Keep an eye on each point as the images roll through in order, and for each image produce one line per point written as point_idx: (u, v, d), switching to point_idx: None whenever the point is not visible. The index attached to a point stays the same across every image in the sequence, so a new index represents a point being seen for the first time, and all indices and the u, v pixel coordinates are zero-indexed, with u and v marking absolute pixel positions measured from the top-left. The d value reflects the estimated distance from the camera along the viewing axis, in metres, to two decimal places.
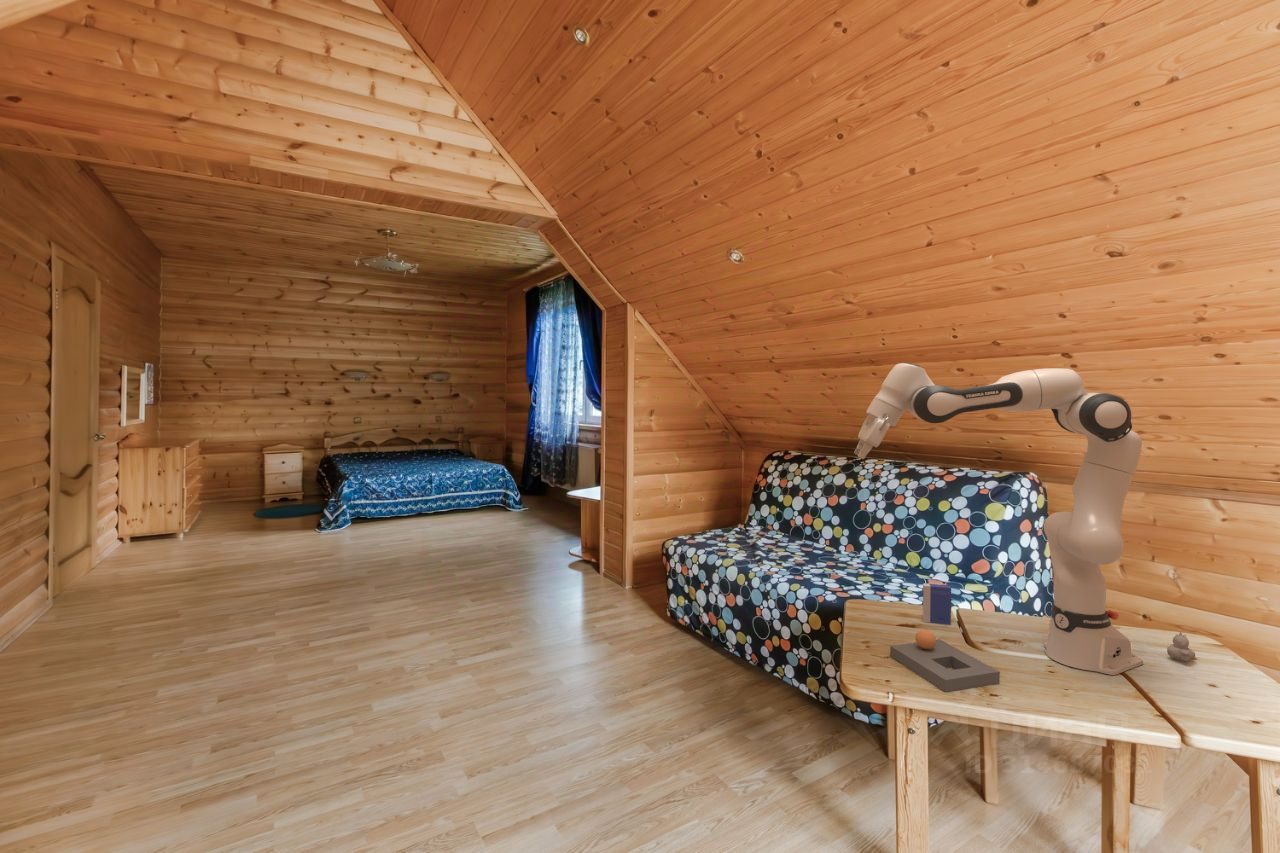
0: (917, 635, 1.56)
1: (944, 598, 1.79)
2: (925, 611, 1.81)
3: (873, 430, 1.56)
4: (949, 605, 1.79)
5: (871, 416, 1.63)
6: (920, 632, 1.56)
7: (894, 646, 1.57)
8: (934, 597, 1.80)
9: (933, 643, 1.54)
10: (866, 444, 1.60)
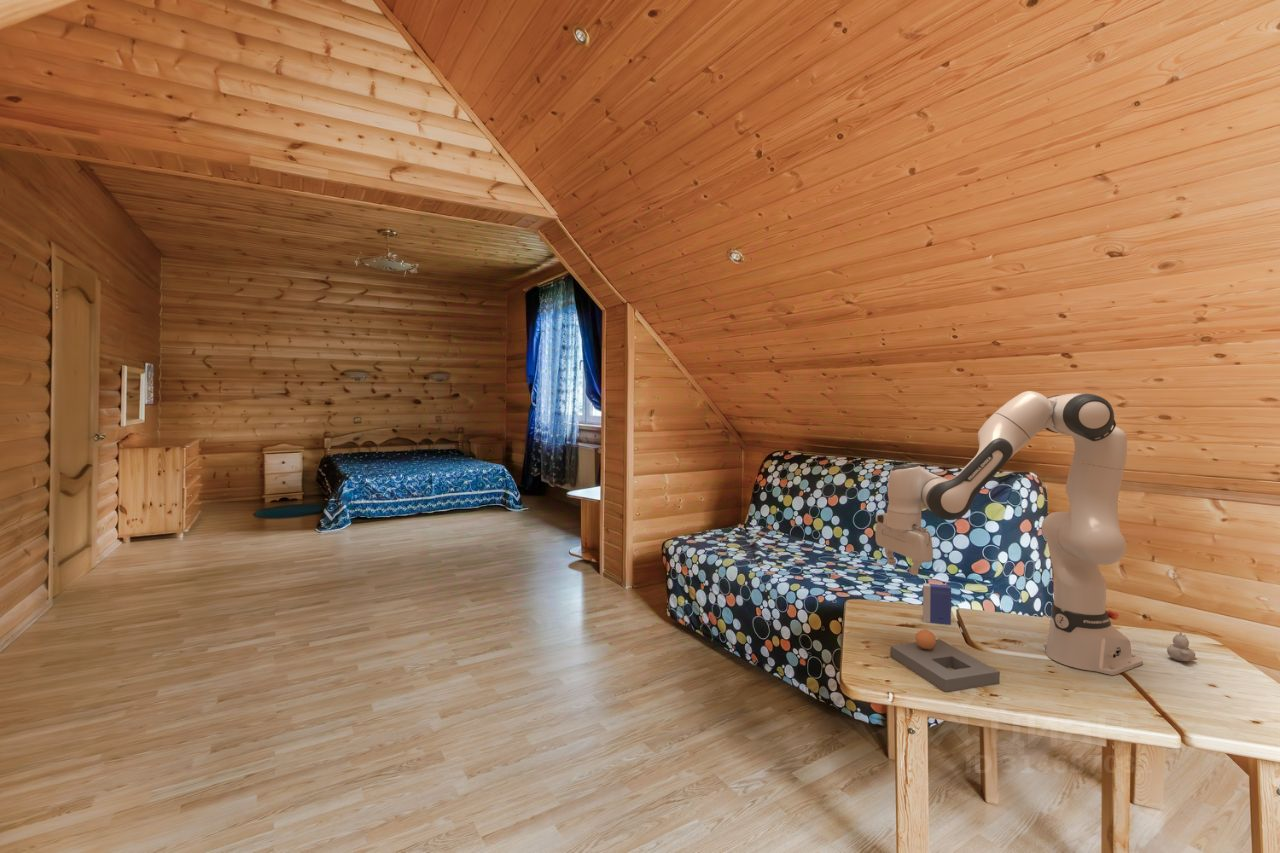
0: (917, 635, 1.56)
1: (944, 598, 1.79)
2: (925, 611, 1.81)
3: (922, 549, 1.53)
4: (949, 605, 1.79)
5: (899, 530, 1.60)
6: (920, 632, 1.56)
7: (894, 646, 1.57)
8: (934, 597, 1.80)
9: (933, 643, 1.54)
10: (916, 561, 1.56)
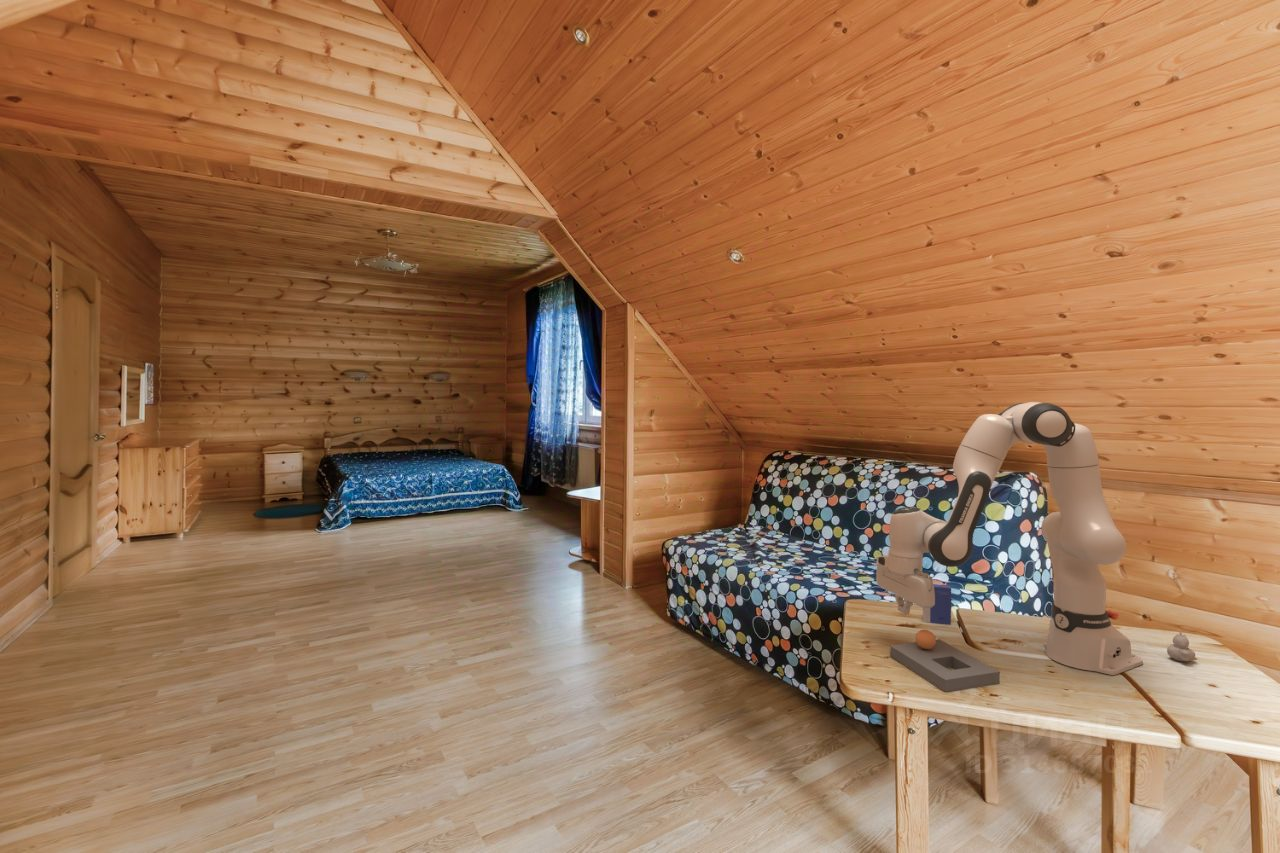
0: (917, 635, 1.56)
1: (944, 598, 1.79)
2: (925, 611, 1.81)
3: (925, 595, 1.53)
4: (949, 605, 1.79)
5: (900, 574, 1.61)
6: (920, 632, 1.56)
7: (894, 646, 1.57)
8: None
9: (933, 643, 1.54)
10: (908, 601, 1.61)
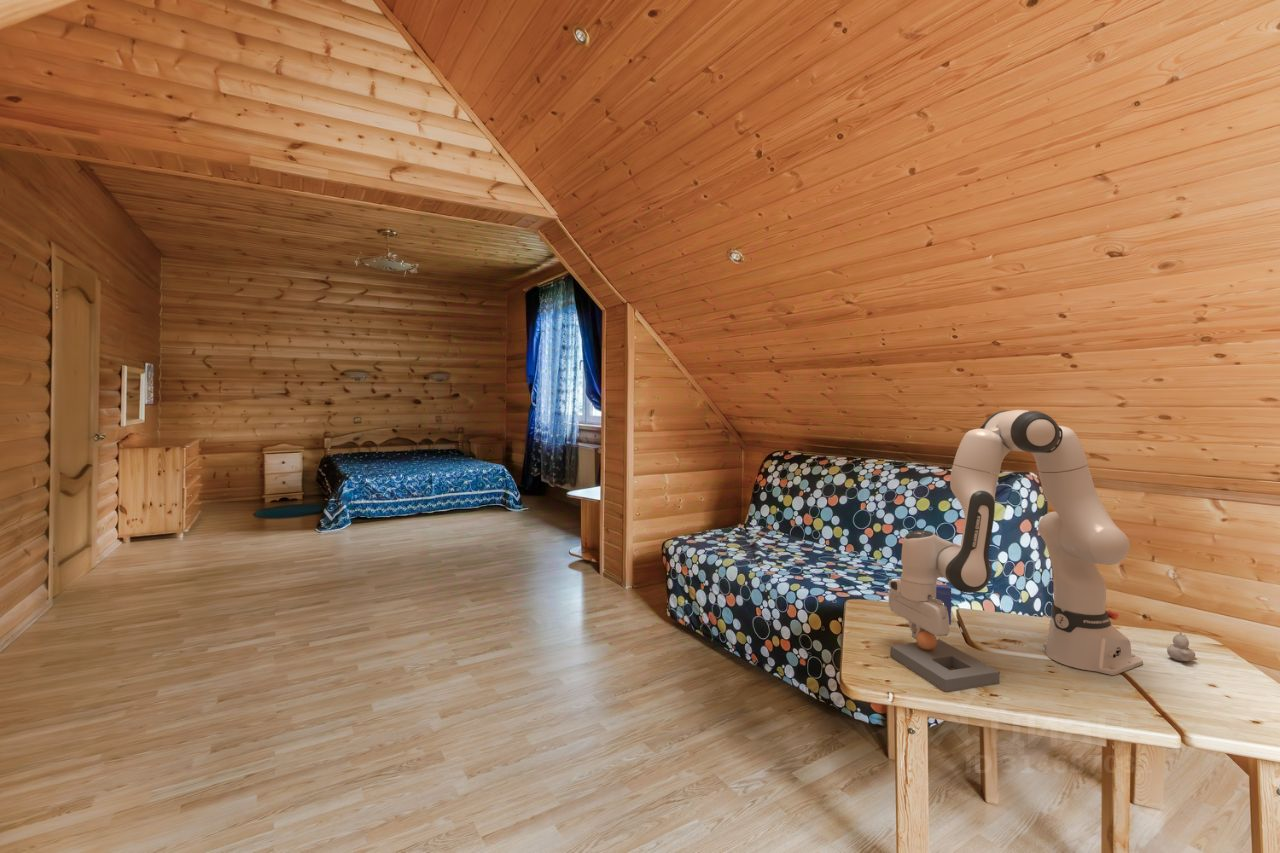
0: (918, 636, 1.55)
1: (944, 598, 1.79)
2: None
3: (939, 623, 1.49)
4: (949, 605, 1.79)
5: (913, 600, 1.56)
6: (922, 634, 1.55)
7: (894, 646, 1.57)
8: None
9: (934, 645, 1.53)
10: (920, 627, 1.56)
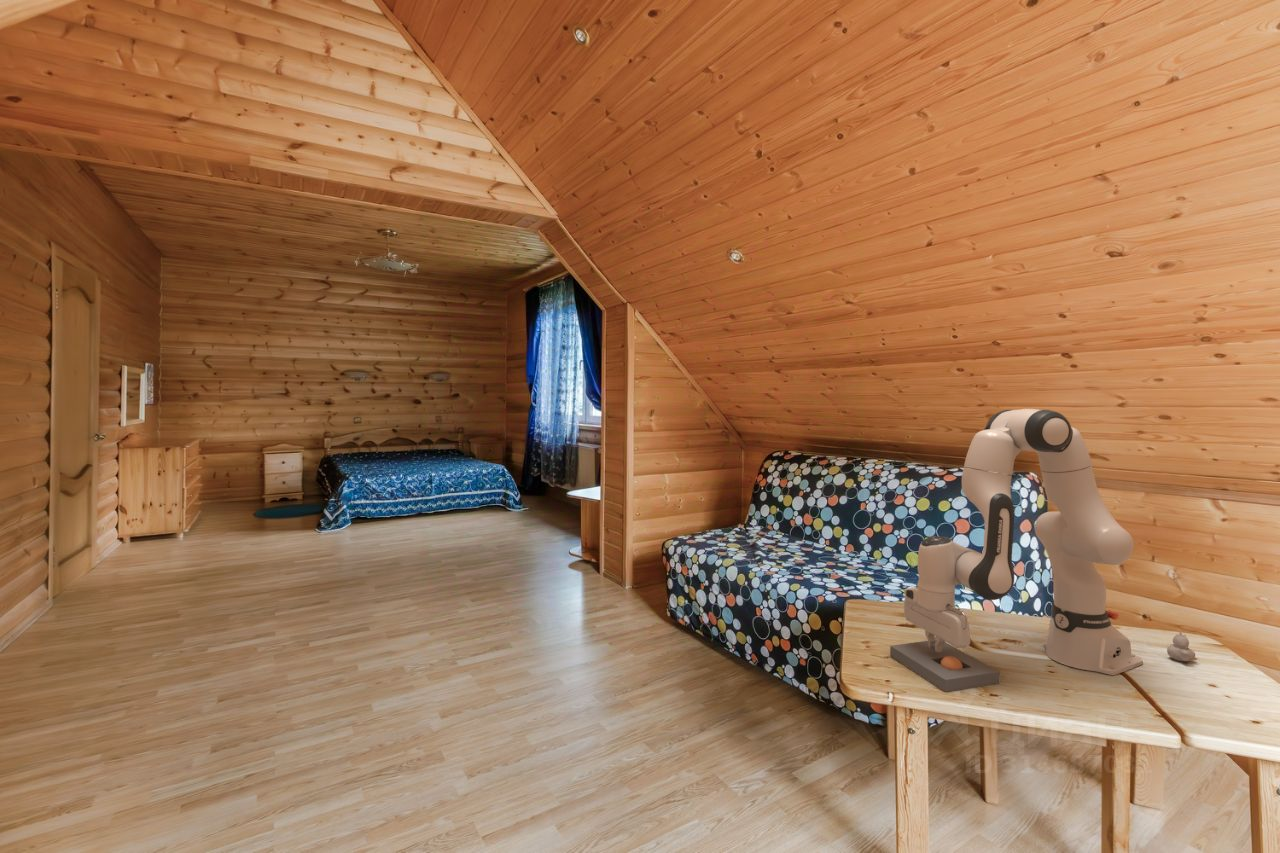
0: None
1: None
2: None
3: (959, 633, 1.42)
4: None
5: (931, 609, 1.50)
6: None
7: (894, 646, 1.57)
8: None
9: (951, 656, 1.47)
10: None
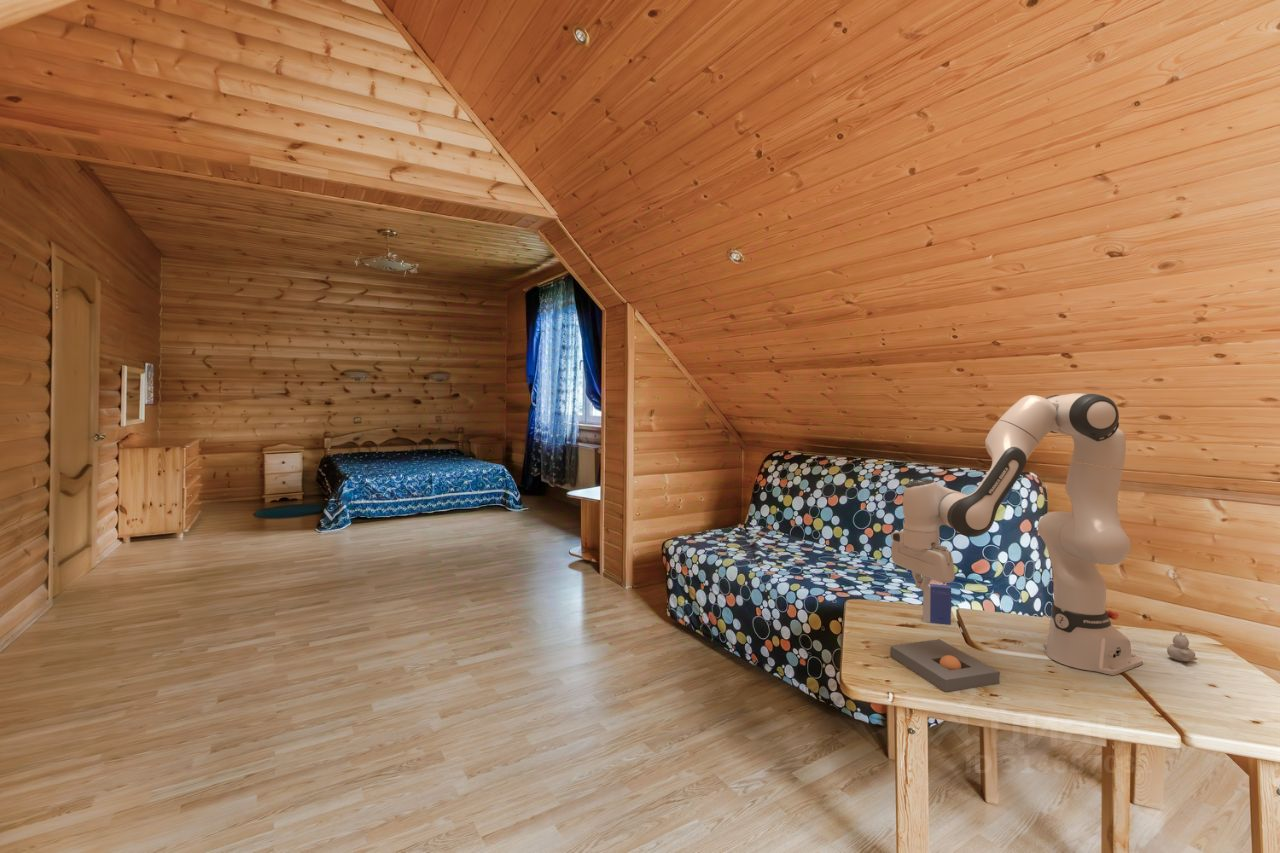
0: None
1: (944, 598, 1.79)
2: (925, 611, 1.81)
3: (944, 569, 1.47)
4: (949, 605, 1.79)
5: (917, 549, 1.54)
6: None
7: (894, 646, 1.57)
8: (934, 597, 1.80)
9: (949, 655, 1.48)
10: (926, 577, 1.54)
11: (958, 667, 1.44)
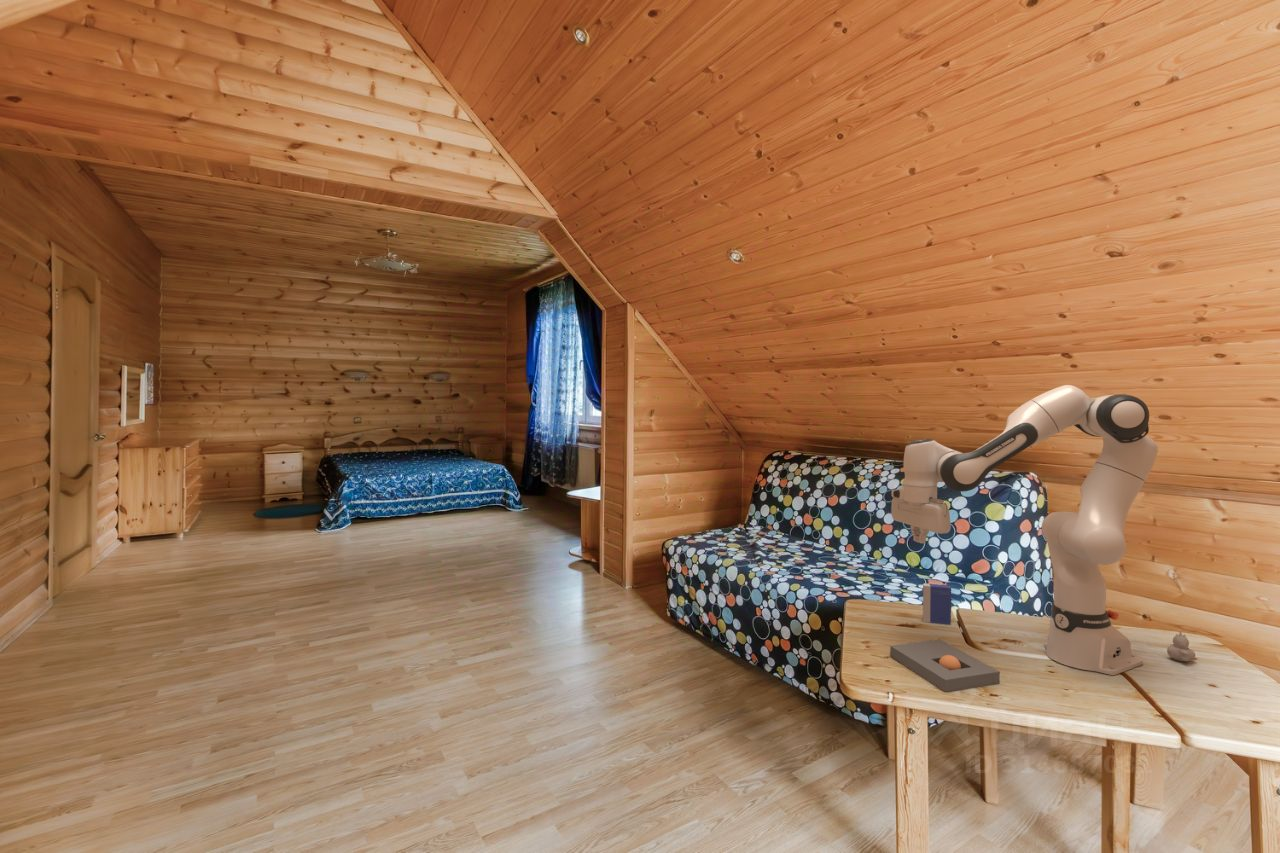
0: None
1: (944, 598, 1.79)
2: (925, 611, 1.81)
3: (940, 520, 1.57)
4: (949, 605, 1.79)
5: (916, 503, 1.64)
6: None
7: (894, 646, 1.57)
8: (934, 597, 1.80)
9: (948, 655, 1.48)
10: (923, 530, 1.64)
11: (957, 666, 1.45)
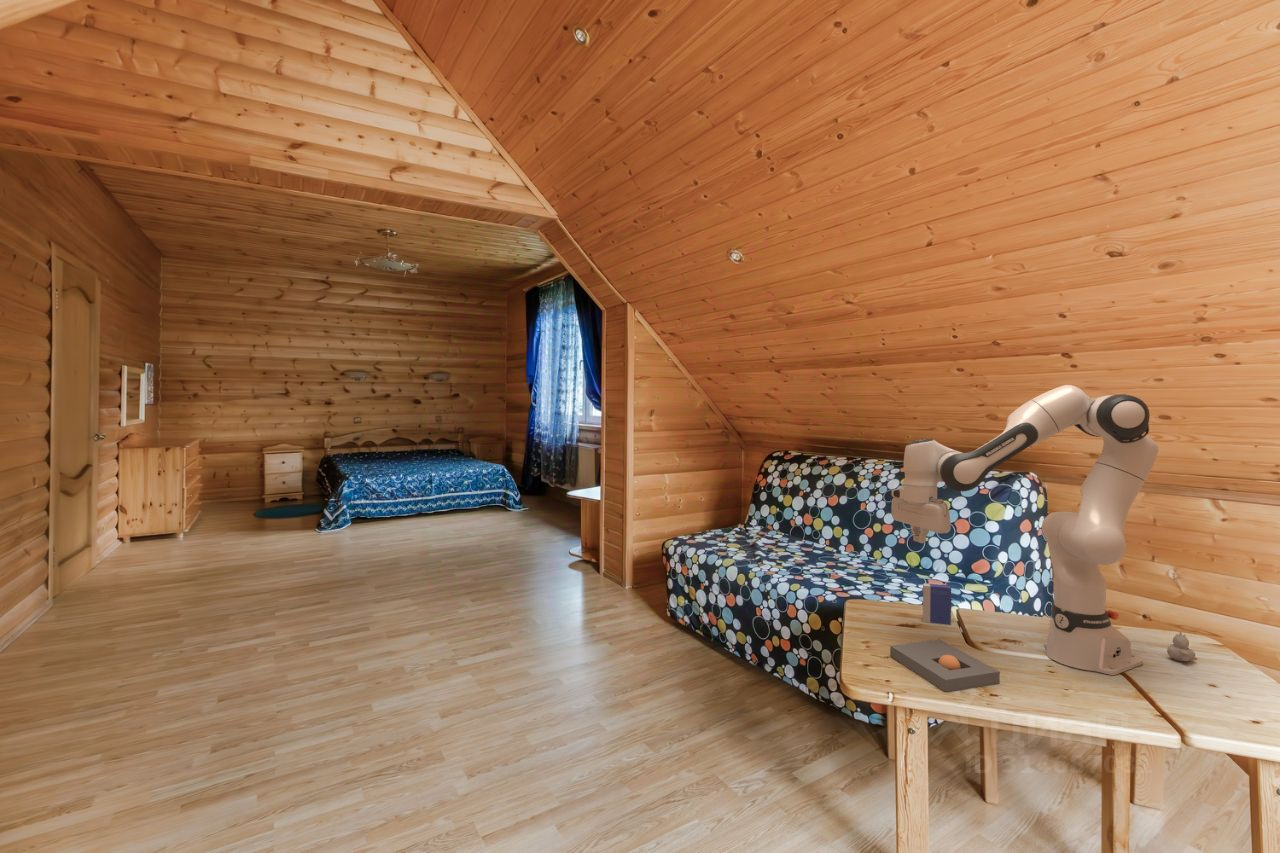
0: None
1: (944, 598, 1.79)
2: (925, 611, 1.81)
3: (940, 520, 1.57)
4: (949, 605, 1.79)
5: (916, 503, 1.64)
6: None
7: (894, 646, 1.57)
8: (934, 597, 1.80)
9: None
10: (923, 529, 1.64)
11: (957, 665, 1.45)
